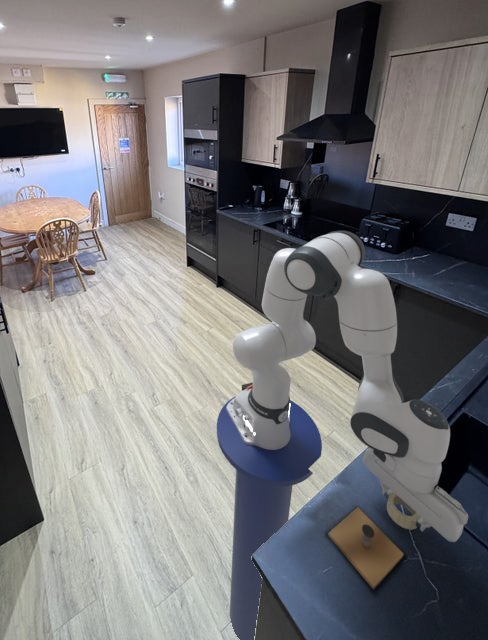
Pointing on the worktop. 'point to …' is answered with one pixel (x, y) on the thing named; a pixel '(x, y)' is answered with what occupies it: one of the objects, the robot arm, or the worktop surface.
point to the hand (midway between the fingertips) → (402, 510)
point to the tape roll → (399, 517)
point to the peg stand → (366, 547)
